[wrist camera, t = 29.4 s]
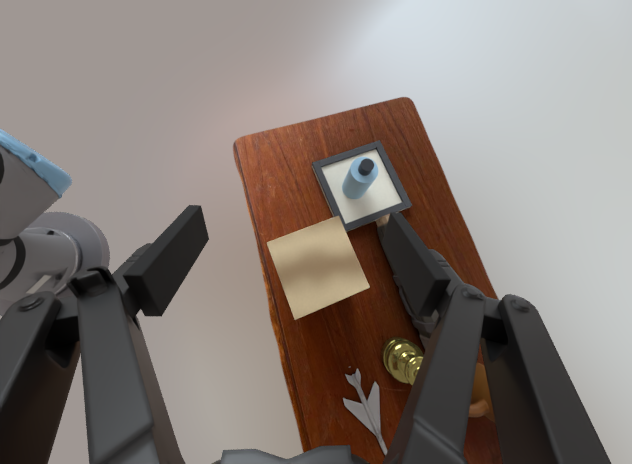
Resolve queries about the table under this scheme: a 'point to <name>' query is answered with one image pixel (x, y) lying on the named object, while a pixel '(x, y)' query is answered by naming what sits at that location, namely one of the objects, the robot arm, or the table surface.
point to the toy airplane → (366, 407)
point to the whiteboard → (376, 200)
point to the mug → (481, 395)
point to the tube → (419, 322)
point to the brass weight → (401, 359)
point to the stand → (317, 266)
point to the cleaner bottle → (359, 177)
